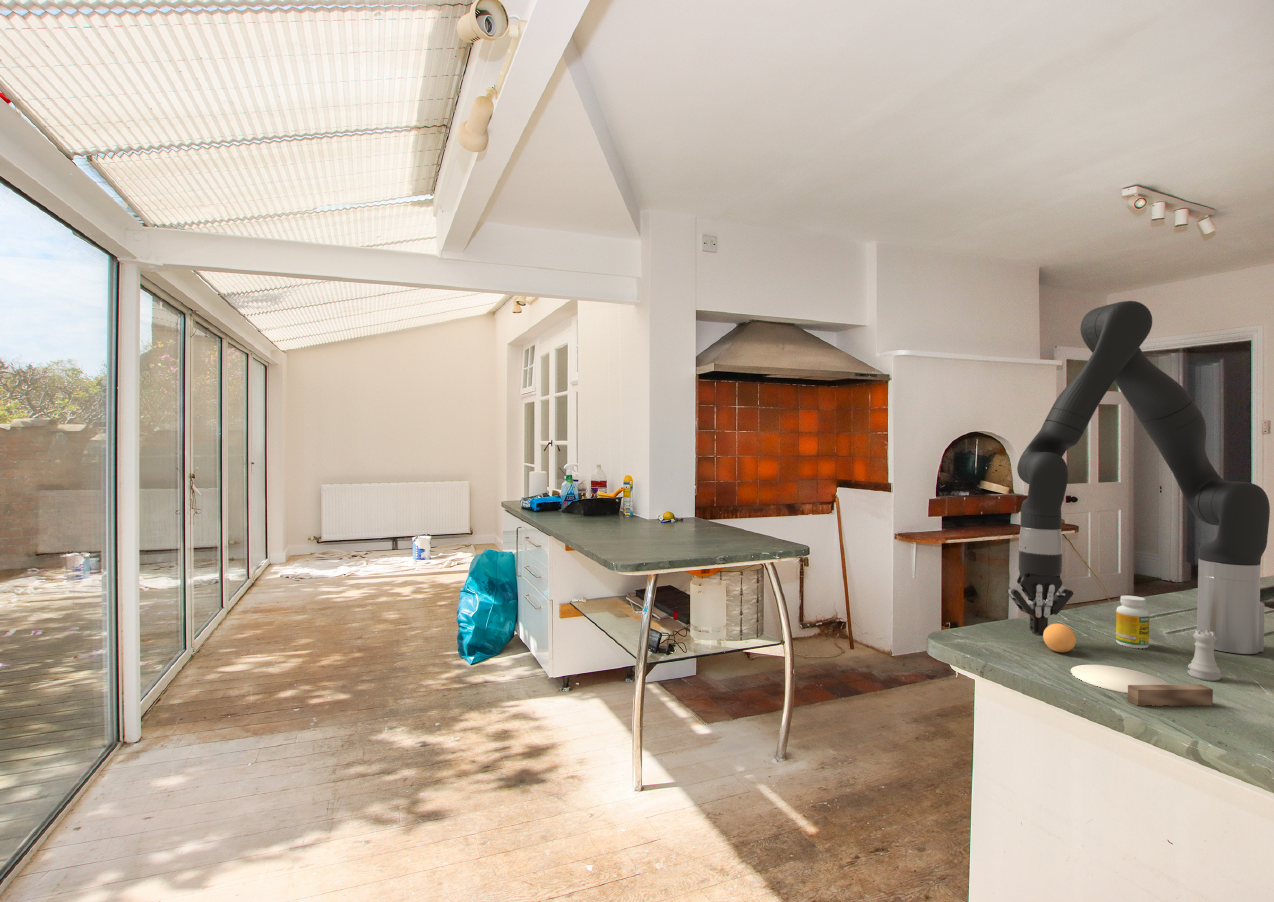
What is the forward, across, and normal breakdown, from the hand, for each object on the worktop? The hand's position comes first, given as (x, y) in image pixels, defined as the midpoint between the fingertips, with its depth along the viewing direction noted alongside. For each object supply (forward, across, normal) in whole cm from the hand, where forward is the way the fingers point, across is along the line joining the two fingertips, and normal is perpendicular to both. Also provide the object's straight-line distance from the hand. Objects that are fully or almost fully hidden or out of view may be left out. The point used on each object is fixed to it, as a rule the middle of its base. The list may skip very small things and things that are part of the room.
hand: (1038, 634), depth 133 cm
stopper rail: (+1, +1, -31) cm, 31 cm away
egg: (-1, 0, -6) cm, 6 cm away
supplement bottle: (+2, +18, -2) cm, 18 cm away
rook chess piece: (+2, +16, -20) cm, 26 cm away
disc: (+1, 0, -21) cm, 21 cm away
